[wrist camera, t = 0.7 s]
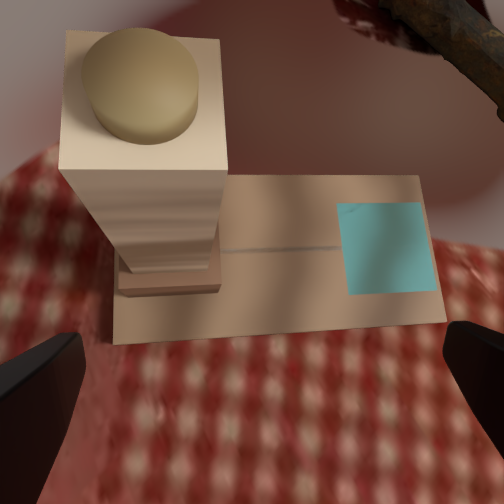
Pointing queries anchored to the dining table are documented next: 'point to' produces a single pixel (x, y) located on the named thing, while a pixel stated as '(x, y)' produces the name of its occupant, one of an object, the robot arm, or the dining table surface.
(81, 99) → the knob-topped square post
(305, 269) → the board with turquoise patch
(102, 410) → the dining table surface
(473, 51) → the hand tool
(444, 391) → the dining table surface
